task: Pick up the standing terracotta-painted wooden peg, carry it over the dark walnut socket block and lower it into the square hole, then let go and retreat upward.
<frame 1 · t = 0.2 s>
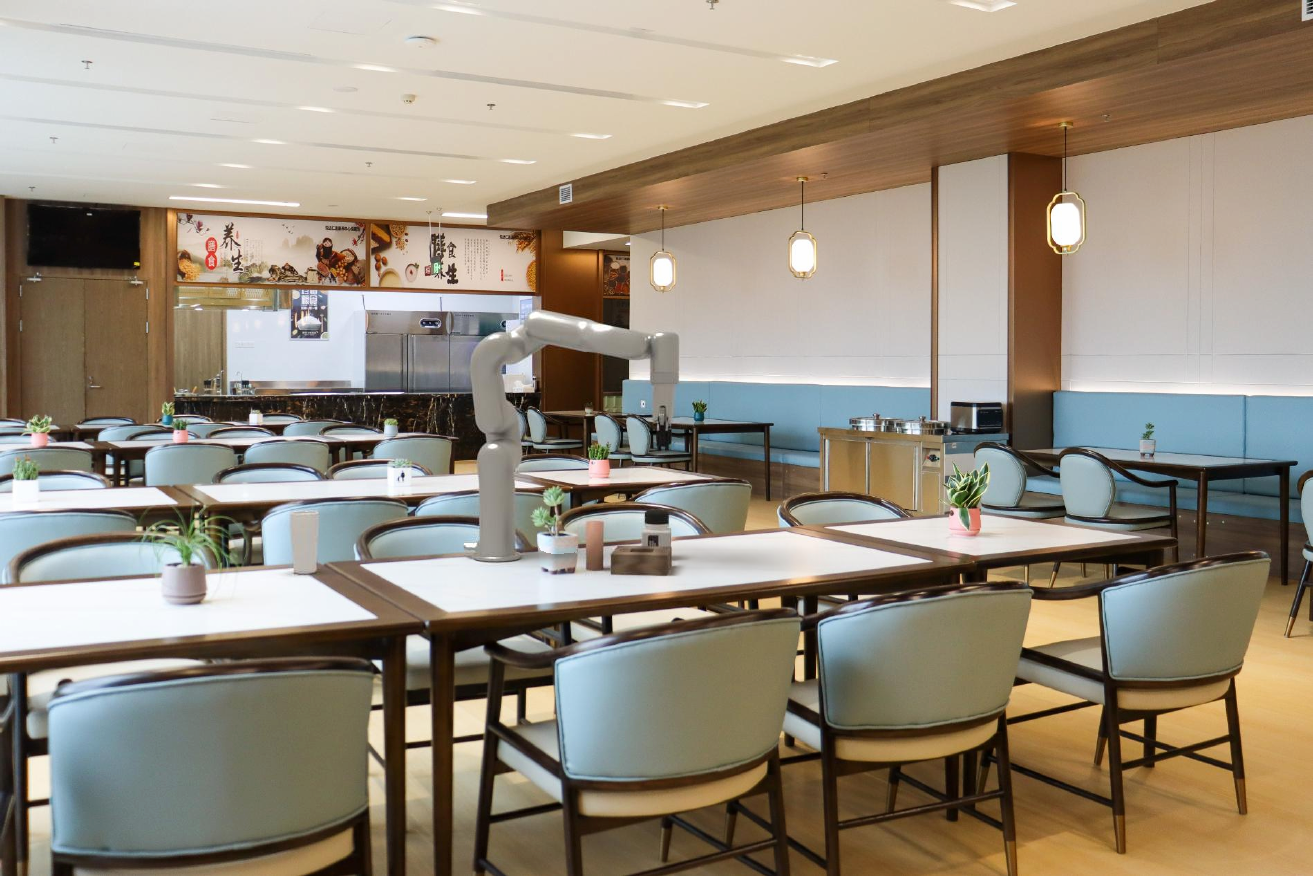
hand: (664, 445, 303), 31 cm above the table, fingers open, 9 cm apart
container: (656, 558, 311), on the table
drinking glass: (305, 573, 286), on the table
peg: (594, 569, 294), on the table
socket block: (641, 570, 292), on the table
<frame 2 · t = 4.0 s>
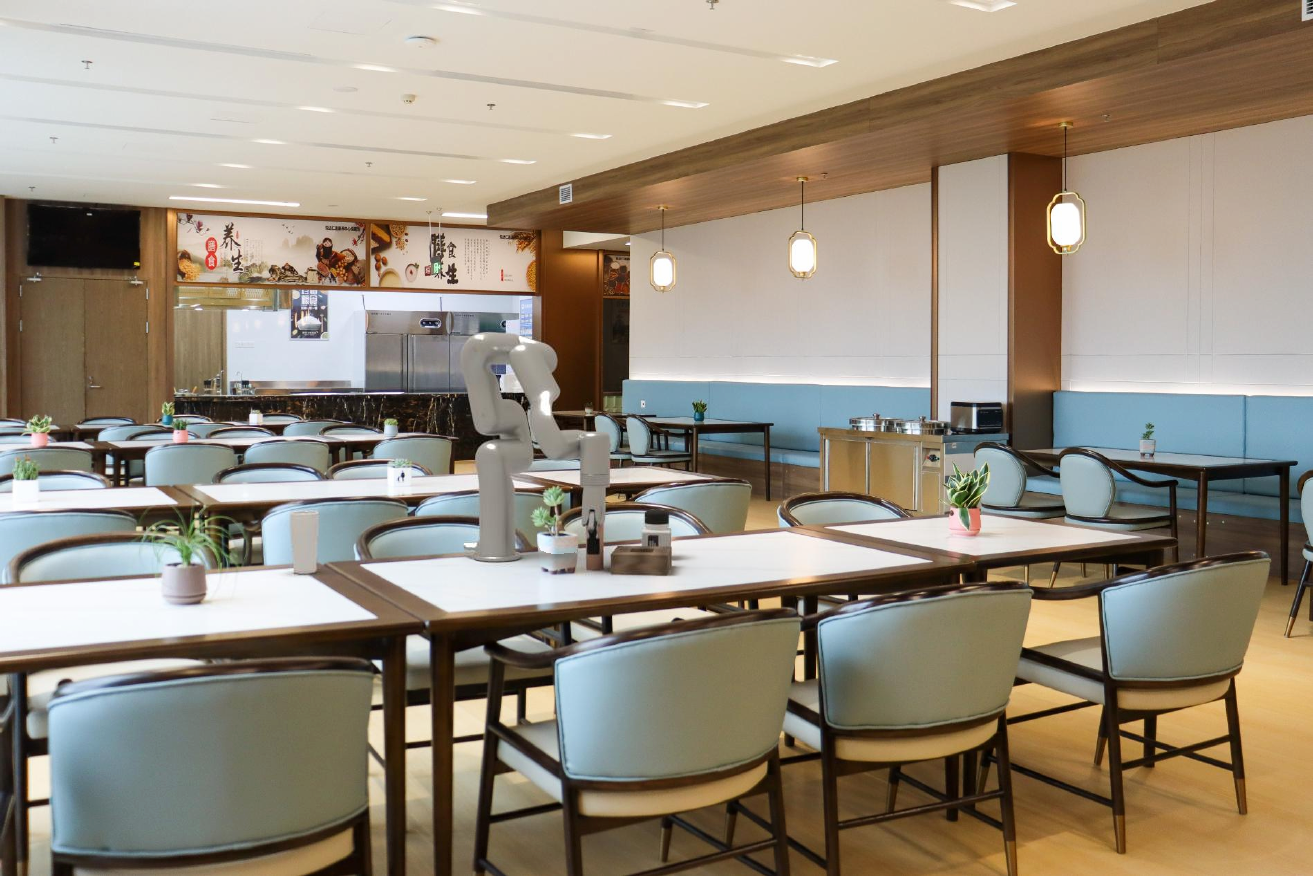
hand: (594, 552, 293), 4 cm above the table, fingers closed on peg, 4 cm apart
peg: (594, 569, 294), on the table, touching gripper
everything else where it was.
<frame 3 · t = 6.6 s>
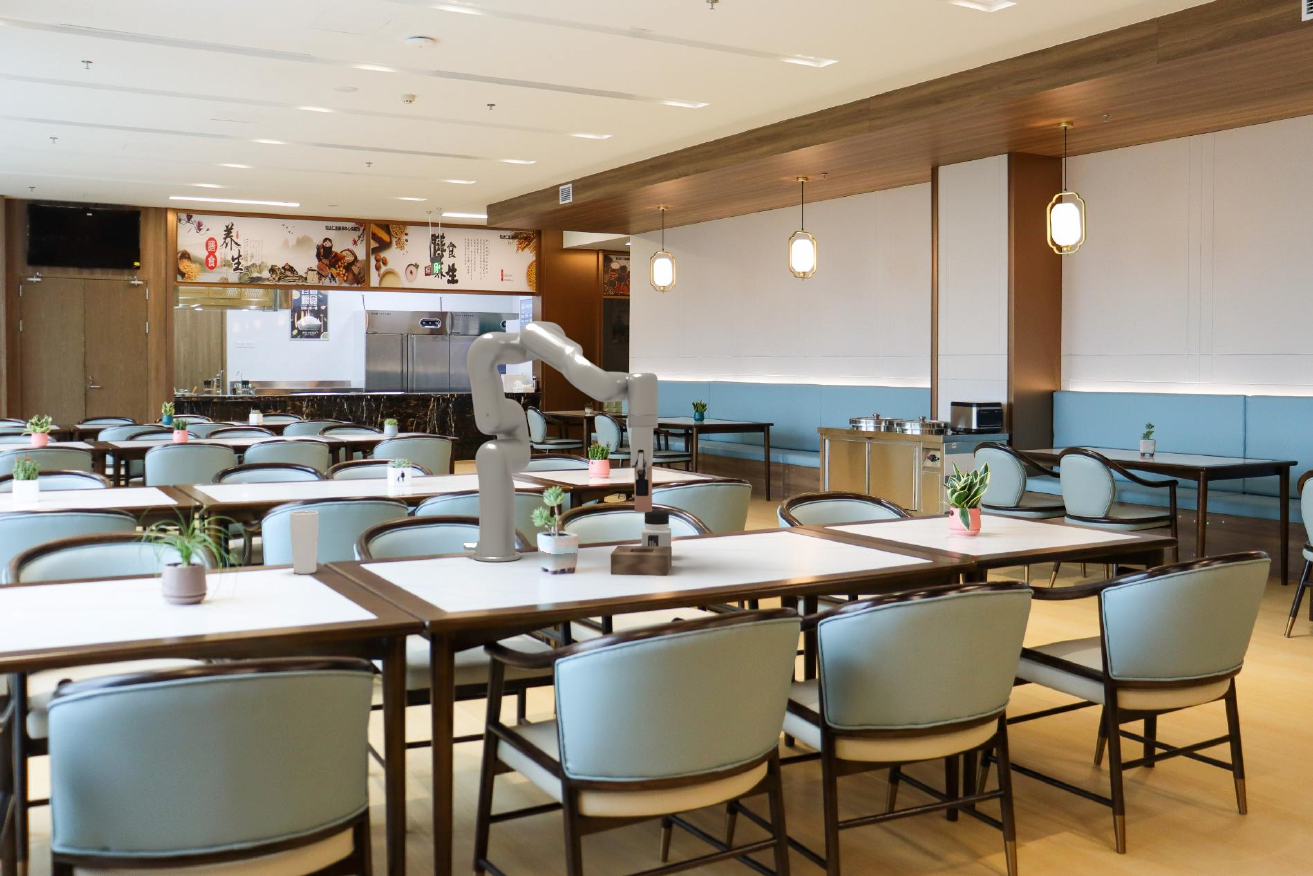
hand: (643, 494, 291), 19 cm above the table, fingers closed on peg, 4 cm apart
peg: (643, 511, 291), point 15 cm above the table, touching gripper
everything else where it was.
when the fingers open (6 cm above the table, at t = 9.2 s): peg drops 2 cm, resting in socket block.
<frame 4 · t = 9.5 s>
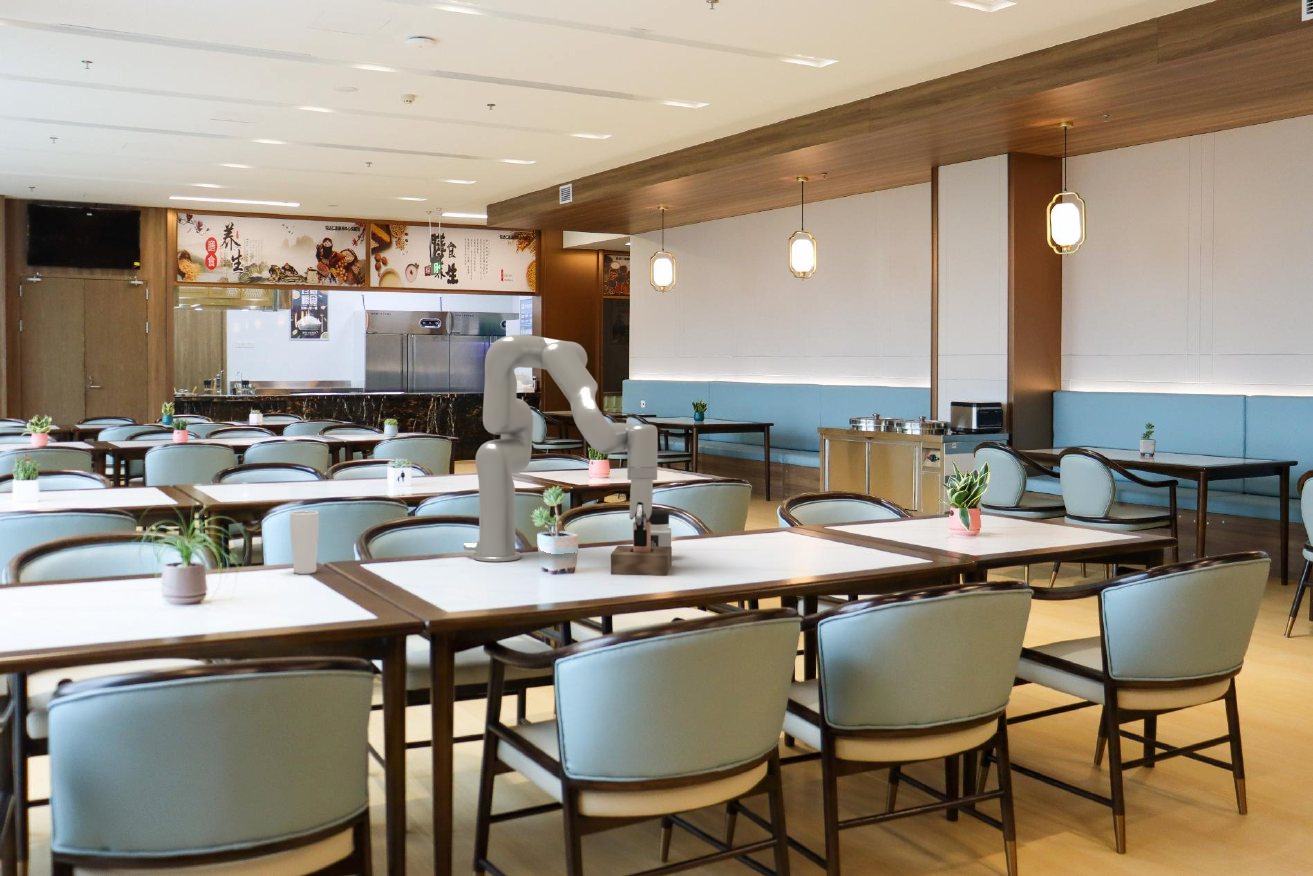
hand: (641, 543, 292), 7 cm above the table, fingers open, 7 cm apart
peg: (641, 570, 292), resting in socket block
everything else where it was.
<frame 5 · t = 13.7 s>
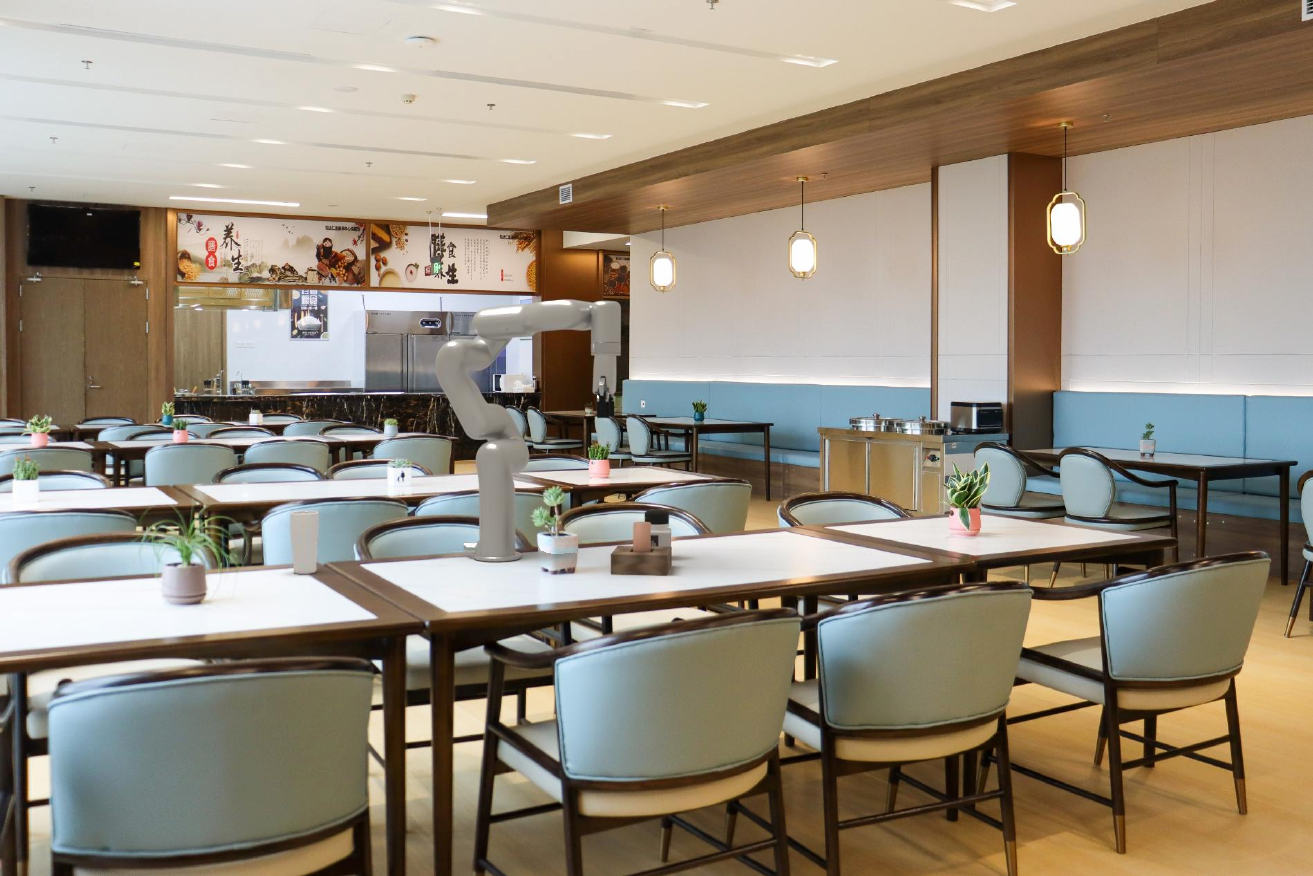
hand: (605, 417, 296), 38 cm above the table, fingers open, 9 cm apart
nothing on the table moved.
at the end: peg 0.0 cm off-centre on the socket block, point 0.0 cm above the socket block's base; peg tilted 0°; the gripper is holding nothing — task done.
